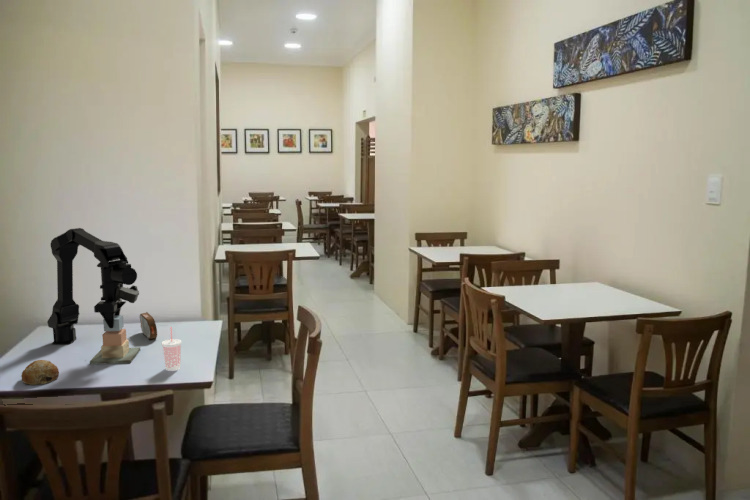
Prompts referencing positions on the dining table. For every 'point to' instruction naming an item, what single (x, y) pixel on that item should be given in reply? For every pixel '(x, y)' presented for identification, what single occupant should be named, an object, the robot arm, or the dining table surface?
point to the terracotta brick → (114, 338)
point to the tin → (148, 325)
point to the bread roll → (40, 372)
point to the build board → (115, 360)
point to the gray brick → (115, 324)
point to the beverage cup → (172, 353)
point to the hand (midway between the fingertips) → (113, 325)
